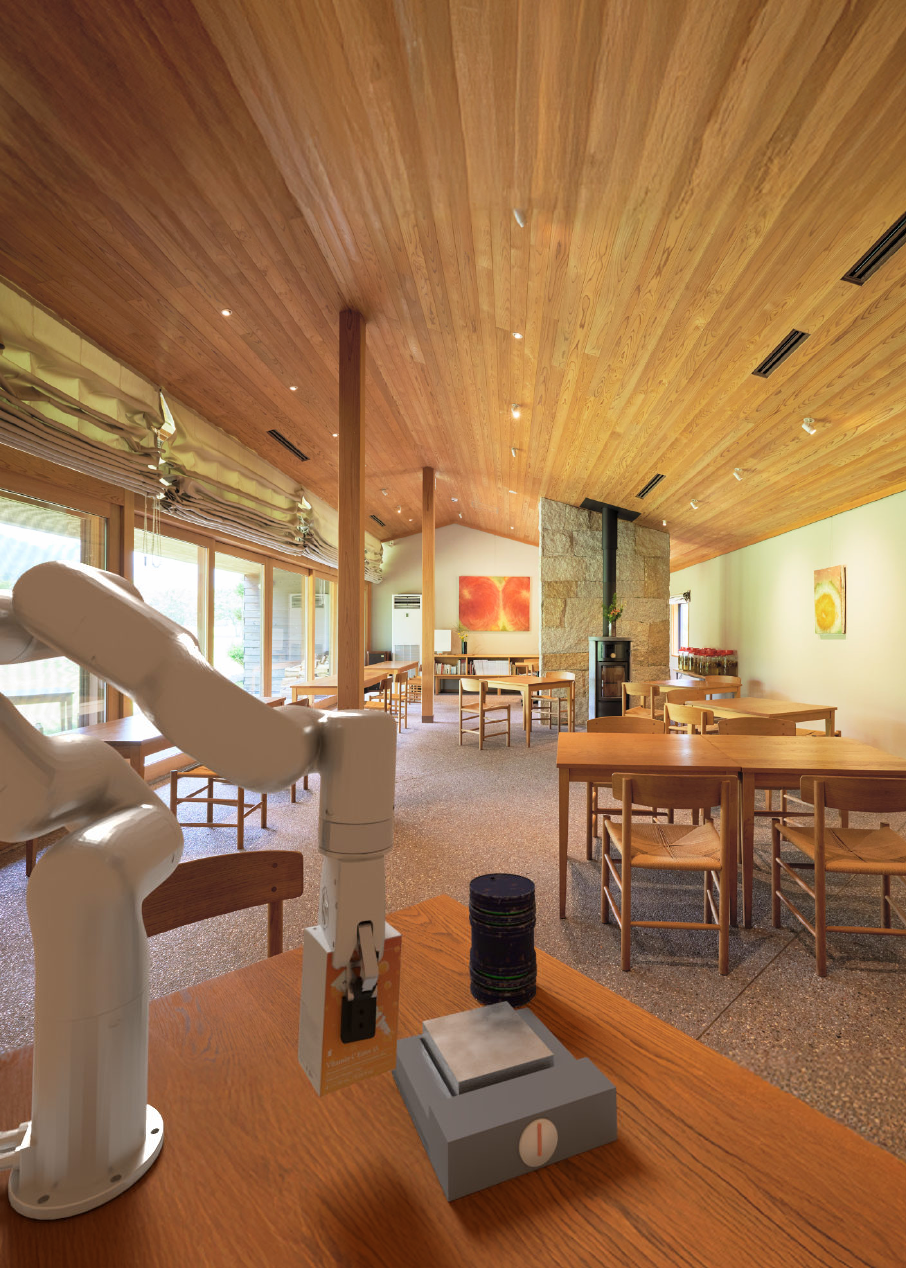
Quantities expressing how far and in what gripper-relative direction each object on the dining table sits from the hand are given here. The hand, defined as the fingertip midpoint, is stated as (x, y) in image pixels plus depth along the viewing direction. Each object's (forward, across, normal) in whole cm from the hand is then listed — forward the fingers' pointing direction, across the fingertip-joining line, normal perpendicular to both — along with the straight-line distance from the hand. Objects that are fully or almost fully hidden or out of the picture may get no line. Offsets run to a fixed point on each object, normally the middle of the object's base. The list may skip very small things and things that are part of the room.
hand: (349, 1014), depth 59 cm
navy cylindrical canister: (+12, -20, +27) cm, 36 cm away
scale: (+12, 0, +16) cm, 20 cm away
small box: (+5, 0, 0) cm, 5 cm away
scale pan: (+9, -2, +16) cm, 19 cm away
